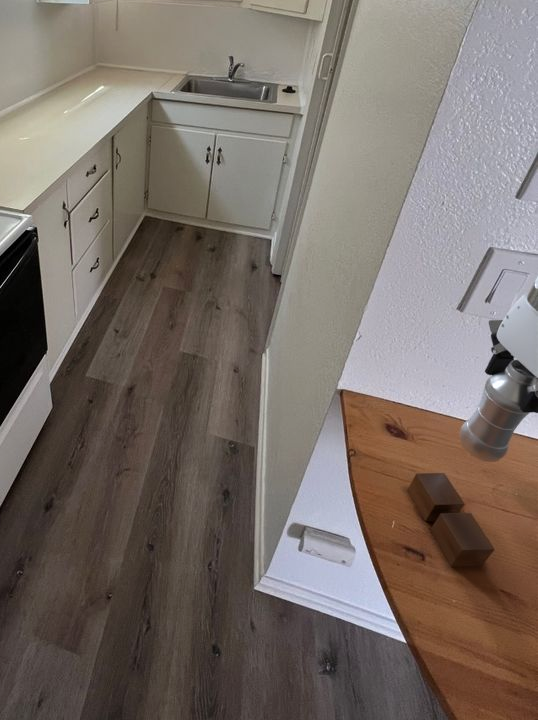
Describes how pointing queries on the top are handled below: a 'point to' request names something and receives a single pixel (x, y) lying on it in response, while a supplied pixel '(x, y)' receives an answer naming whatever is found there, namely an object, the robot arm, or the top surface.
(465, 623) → the top surface
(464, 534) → the walnut block
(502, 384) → the silver bottle
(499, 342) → the robot arm
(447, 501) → the walnut block
